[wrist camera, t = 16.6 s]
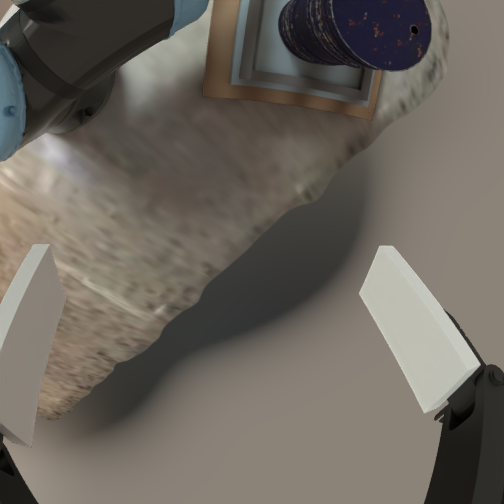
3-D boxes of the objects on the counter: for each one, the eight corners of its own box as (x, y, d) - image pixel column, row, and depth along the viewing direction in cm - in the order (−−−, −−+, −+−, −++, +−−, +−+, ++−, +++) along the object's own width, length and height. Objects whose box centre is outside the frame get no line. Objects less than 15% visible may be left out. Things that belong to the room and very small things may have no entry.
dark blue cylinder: (269, 55, 29) (318, 50, 17) (283, -16, 24) (338, -55, 12) (346, 73, 32) (422, 89, 20) (359, 7, 26) (438, -4, 14)
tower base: (202, 94, 37) (203, 99, 31) (221, -45, 25) (226, -65, 19) (359, 115, 42) (385, 126, 36) (379, -7, 30) (408, -13, 24)
